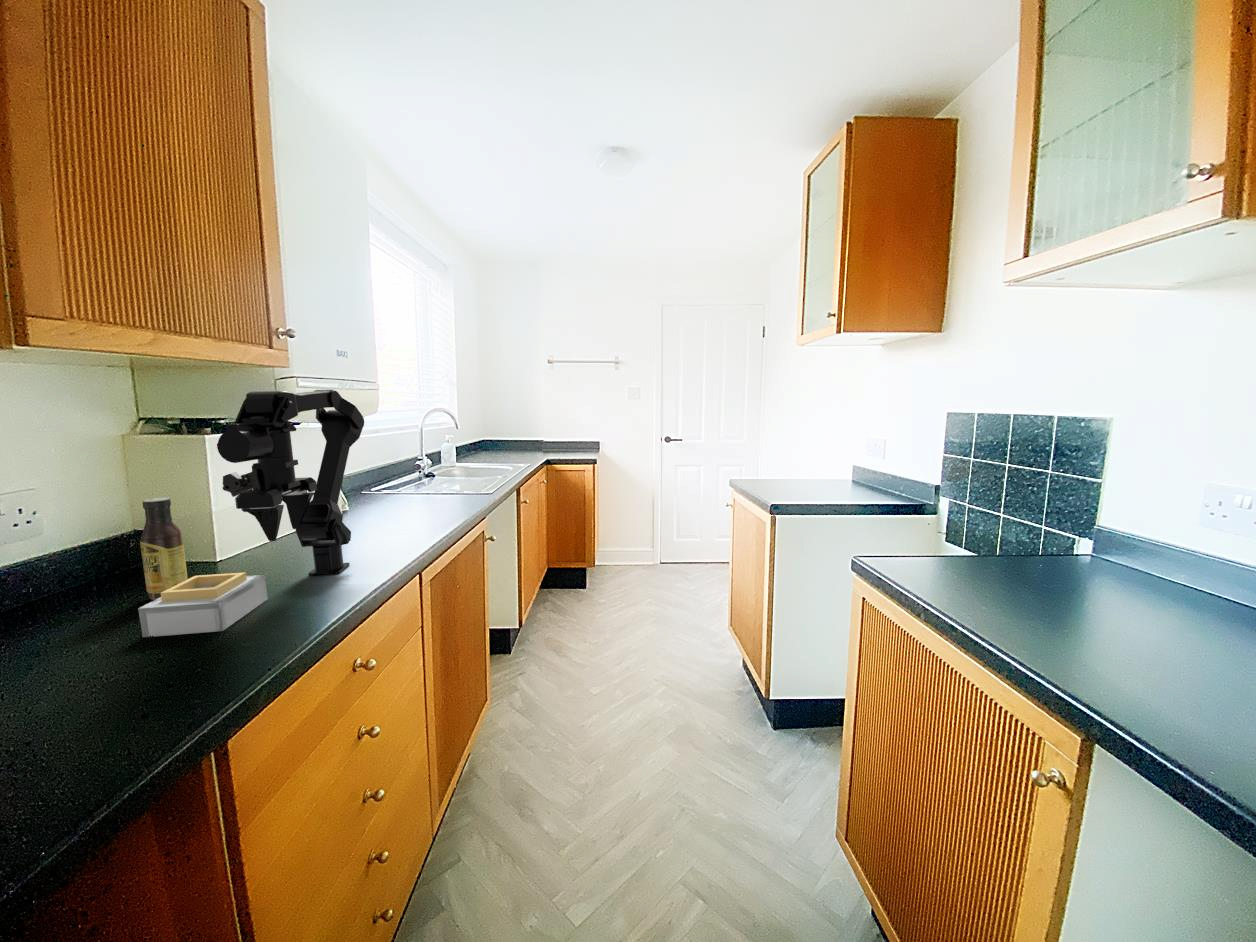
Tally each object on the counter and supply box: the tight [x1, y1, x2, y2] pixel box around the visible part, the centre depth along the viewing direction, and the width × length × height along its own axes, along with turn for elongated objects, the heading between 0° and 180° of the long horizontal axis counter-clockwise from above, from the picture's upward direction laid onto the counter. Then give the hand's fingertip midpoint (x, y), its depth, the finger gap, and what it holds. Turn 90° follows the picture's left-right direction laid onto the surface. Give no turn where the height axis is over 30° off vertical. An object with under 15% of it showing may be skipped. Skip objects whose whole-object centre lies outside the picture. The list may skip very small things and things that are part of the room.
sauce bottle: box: [139, 497, 189, 601], centre depth 102 cm, size 6×6×20 cm
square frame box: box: [137, 571, 269, 638], centre depth 92 cm, size 14×12×6 cm
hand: (284, 534), depth 102 cm, fingers open, 9 cm apart
